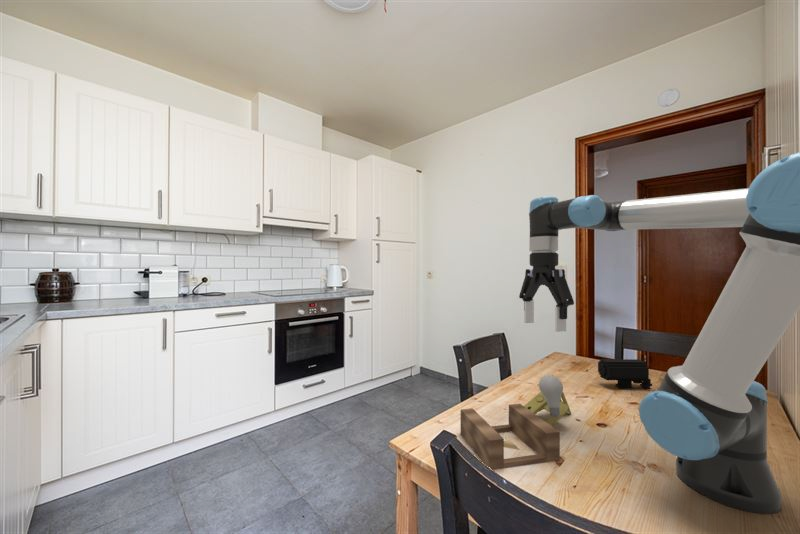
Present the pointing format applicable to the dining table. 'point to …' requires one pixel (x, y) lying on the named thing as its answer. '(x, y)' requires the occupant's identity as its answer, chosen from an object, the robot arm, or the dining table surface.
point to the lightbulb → (551, 393)
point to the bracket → (540, 404)
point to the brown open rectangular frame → (492, 444)
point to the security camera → (625, 372)
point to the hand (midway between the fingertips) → (543, 326)
